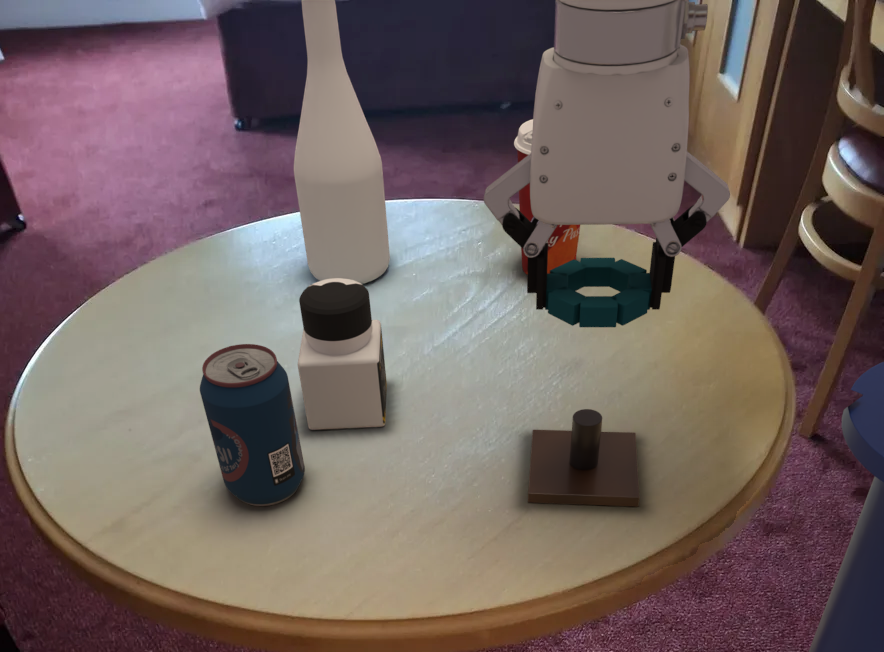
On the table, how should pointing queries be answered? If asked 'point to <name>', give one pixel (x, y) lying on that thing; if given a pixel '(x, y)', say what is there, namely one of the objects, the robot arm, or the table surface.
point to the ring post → (584, 464)
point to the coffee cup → (562, 238)
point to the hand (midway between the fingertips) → (596, 299)
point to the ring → (598, 308)
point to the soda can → (252, 423)
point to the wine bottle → (337, 163)
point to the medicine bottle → (341, 357)
